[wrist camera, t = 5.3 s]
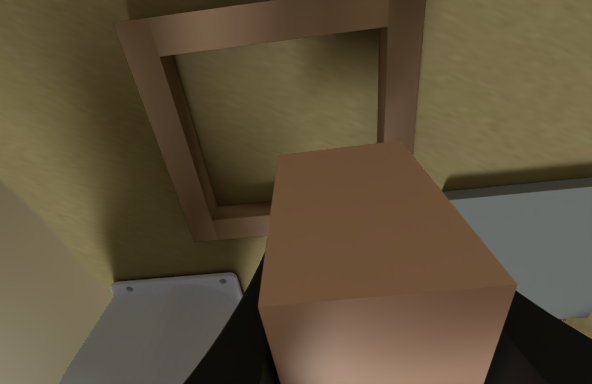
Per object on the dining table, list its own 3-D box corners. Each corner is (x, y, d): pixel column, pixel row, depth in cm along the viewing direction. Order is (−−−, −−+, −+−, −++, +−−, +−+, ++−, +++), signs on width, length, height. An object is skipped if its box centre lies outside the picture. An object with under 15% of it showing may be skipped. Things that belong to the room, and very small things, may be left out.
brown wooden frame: (201, 227, 20) (194, 242, 19) (129, 21, 14) (112, 22, 13) (399, 208, 19) (406, 222, 18) (415, -18, 13) (427, -22, 12)
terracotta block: (300, 282, 13) (302, 458, 8) (277, 155, 10) (258, 307, 5) (394, 273, 13) (460, 451, 8) (400, 140, 10) (517, 284, 5)
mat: (422, 317, 25) (427, 328, 24) (441, 191, 19) (448, 200, 18) (577, 306, 24) (587, 317, 23) (649, 171, 18) (667, 179, 17)
